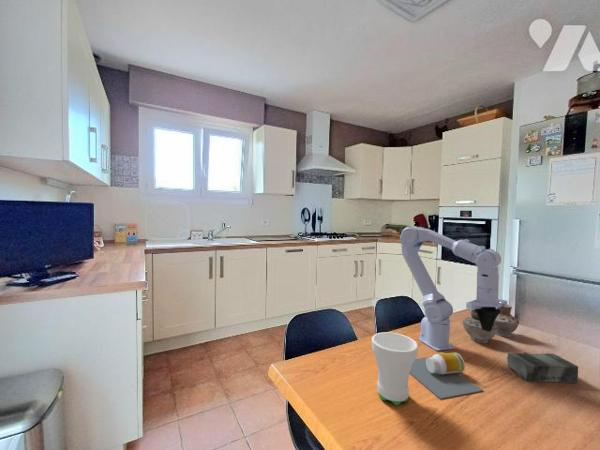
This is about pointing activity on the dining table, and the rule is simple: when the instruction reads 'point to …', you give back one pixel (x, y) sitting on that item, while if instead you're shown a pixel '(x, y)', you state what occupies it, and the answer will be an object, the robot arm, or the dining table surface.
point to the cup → (394, 364)
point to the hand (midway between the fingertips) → (486, 330)
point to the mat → (442, 381)
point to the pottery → (500, 327)
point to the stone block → (543, 367)
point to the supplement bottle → (445, 363)
